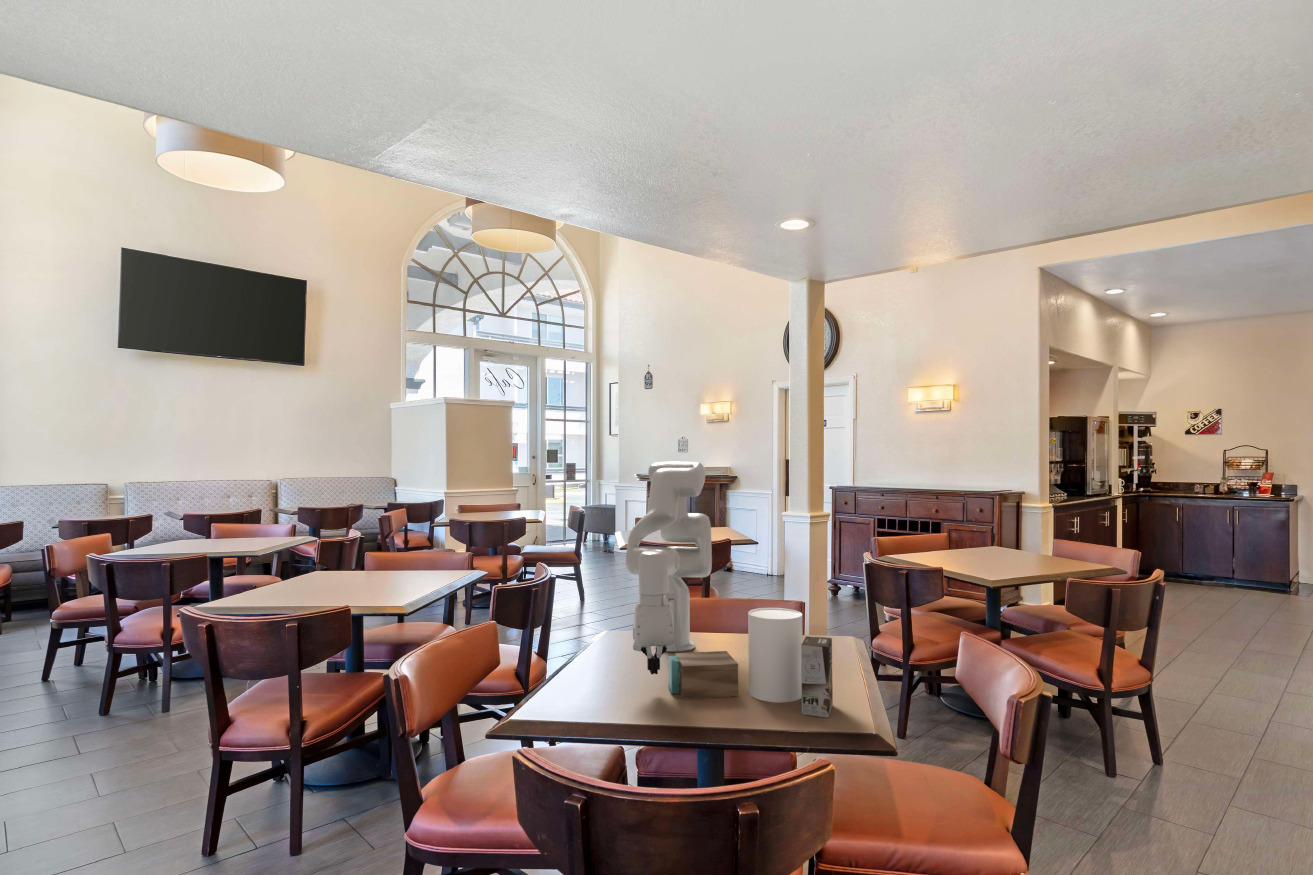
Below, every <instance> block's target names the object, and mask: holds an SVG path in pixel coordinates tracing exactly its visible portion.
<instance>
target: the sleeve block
mask: <svg viewBox="0 0 1313 875" xmlns="http://www.w3.org/2000/svg"><path fill="white" fill-rule="evenodd" d="M674 656H677V658H678V660H679V667H680V693H679V694H680V696H681V698H682V699H683V700H685V699H684V698H696V699H709V698H710V697H715V698H728V697H729V698H731V696H735V697H739V663H738V662H737V661H736V660H735V659H734V658H733V656H732V655H731V654H730V653H729V652H728V651H727V650H721V651H720V650H718V651H717V650H716V651H695V652H694V651H693V652H692V651H691V652H674ZM706 697H707V698H706Z"/></svg>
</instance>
